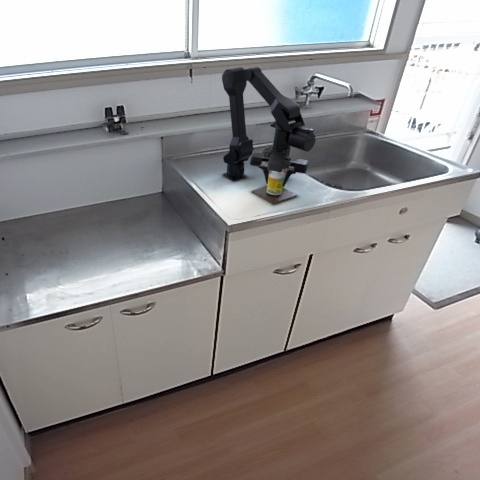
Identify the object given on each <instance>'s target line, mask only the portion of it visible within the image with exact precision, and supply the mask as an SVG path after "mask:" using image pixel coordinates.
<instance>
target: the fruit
mask: <svg viewBox="0 0 480 480" xmlns="http://www.w3.org/2000/svg"><path fill="white" fill-rule="evenodd" d="M272 148H273V145H270V146H268V147H265V148H264V149H263V150H261V153H264V154H265V157H267V158H270V154H271V152H272Z"/></svg>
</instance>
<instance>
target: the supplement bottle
mask: <svg viewBox="0 0 480 480" xmlns="http://www.w3.org/2000/svg"><path fill="white" fill-rule="evenodd" d="M283 171H284V169H283ZM283 171H282V172H277V171H270V173H269V176H268V184H266V186H267V193H269V194H271V195H279V194H281V193H282V188H284V187H283V182H284V176H285V174H284V173H283Z"/></svg>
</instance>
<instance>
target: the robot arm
mask: <svg viewBox="0 0 480 480" xmlns="http://www.w3.org/2000/svg"><path fill="white" fill-rule="evenodd" d="M221 81H222V87H223V89H224V92H225V93H226V94H227V96H228V101H229V111H230V121H231V122H230V123H231V132H232V133H231V134H232V137H231V139H230V143H229V148H228V149H229V151H228V152H227V153H226V154H225V155H223V158H222V159H223V163H225V164H227V165H226V172H224V173H223V174H222V175H223V176H224V177H226V178H227V179H229V180H231V181H237V180H241V179H244V178H246V177H247V175H245V162H247V161H249V165H250V166H255V167H258V169H260V170H262V173H263V175H264V180H265V183H266V185H267V184H268V176H269V173H270V172H271V171H277V172H282V171H283V169H286V168H287V169H288V170H287V173H286V176H285V179H284V182H283V188H284V187H285V185H286V184H287V182H288V181H289V179H290V177H291V176H292V175H296V174H297V173H298V174H306V173H307V171H308V167H309V165H310V164H309V163H310V161H309V160H308V159H303V158H296V160H295V161H294V160H292V157H290V153H291V149H292V148H295V149H297V150H300V151H303V152H307V153H308V152H310V151H311V150H312V149H313V148H314V146H315V145H316V142H317V139H316V134H315V133H314V131H315V130H314V129H313V128H310V127H309V128H308V127H305V126H306V124H305V121H304V119H303V116H302V115H303V114H302V113H301V107H300V105H299V104H298V103H297V102H296V101H294V100H293V99H291V98H290V97H287V96H285V95H284V94H282V93H281V92H280V91H279V89H278V88H277V87H276V86H275V85H274V84H273V83H272V82H271V80H270V79H269V78H268V77H267V76H266V75H265V73H264V72H263V71H262V69H261V68H260V67H259V66H253V67H248V68H244V67H242V66H237V67H231V68H227V69H225V70H224V71H223V73H222V74H221ZM248 83H249V84H250V85H251V86H252V87H253V88H254V89H255V91H256V92H257V93H258V95H260V97H261V98H262V99H263V100H264V101H265V103H267V105H268V106H269V109H270V113H271V115H272V117H273V118H274V120H275V121H273V122H272V123H271V124H270V125H269V127H271V128H274V129H275V130H274V135H273V142H272V146H273V148H272V152H271V154H270V158H267V157H265V154H264V153H262V152H257V151H255V149H254V140H253V139H252V138H249V137H248V135H247V126H246V114H245V113H246V112H245V102H244V101H245V100H244V92H245V91H246V88H247V84H248ZM291 147H292V148H291ZM253 151H255V152H254V153H253ZM287 180H288V181H287Z"/></svg>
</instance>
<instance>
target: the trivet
mask: <svg viewBox="0 0 480 480" xmlns="http://www.w3.org/2000/svg"><path fill="white" fill-rule="evenodd" d="M251 193H253V194H254V195H256V196H258V197H259V198H261V199H263V200H265V201H267V202H268V203H270V204H272V205H276V204H277V205H278V204H280V203H283V202H285V201H288V200H291V199H294V198H297V196H298V195H297V194H295V193H293V192H292V191H290V190H288V189H286V188H284V187H283V188H282V193H281V194H279V195H271V194H269V193H267V185H266V186H262V187H260V188H257V189H253V190H251Z"/></svg>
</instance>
